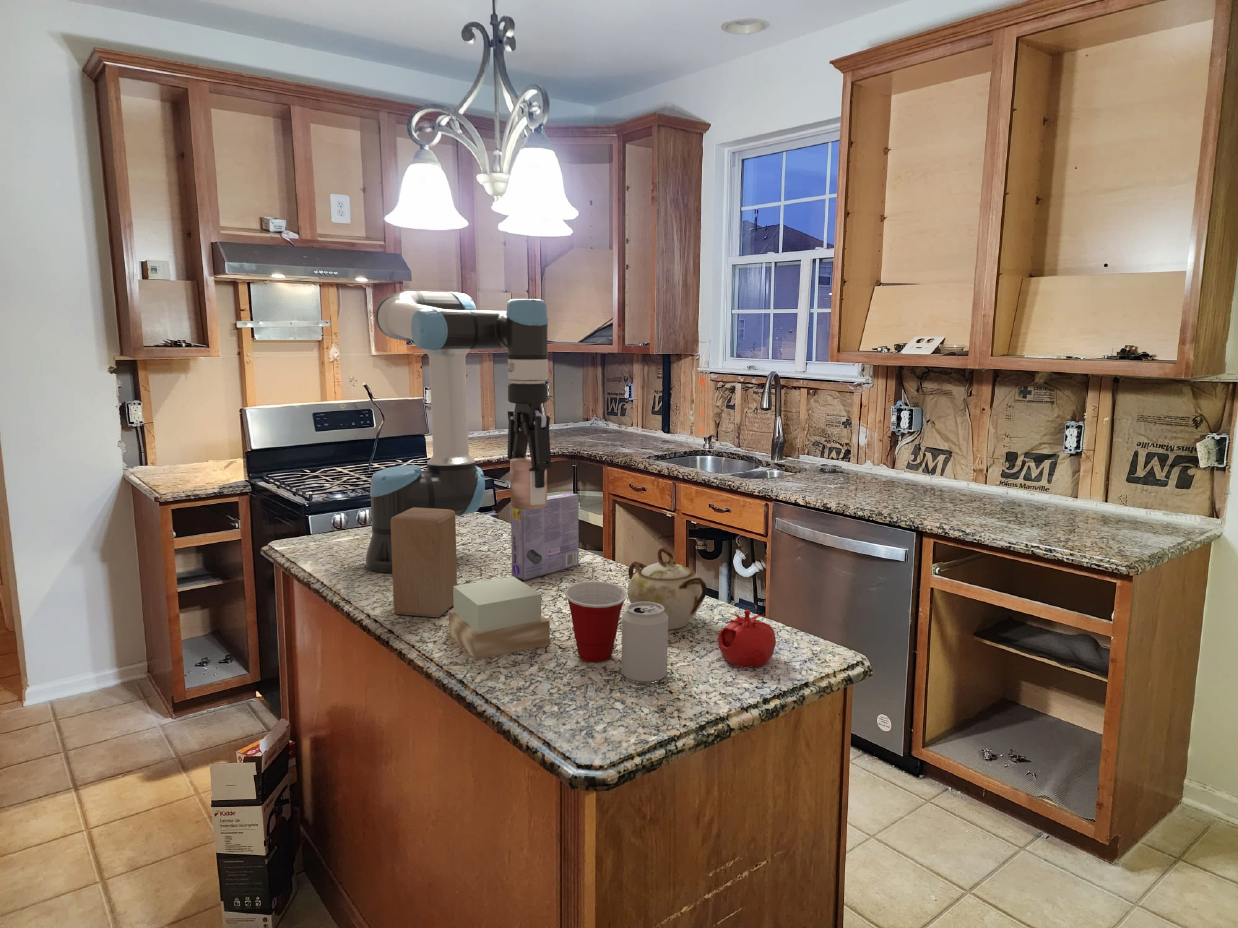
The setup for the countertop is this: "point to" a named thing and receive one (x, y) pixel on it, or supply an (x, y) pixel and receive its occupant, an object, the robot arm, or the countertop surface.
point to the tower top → (496, 604)
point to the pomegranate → (747, 641)
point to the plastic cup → (595, 617)
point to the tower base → (499, 637)
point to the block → (423, 561)
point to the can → (644, 642)
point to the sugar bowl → (667, 588)
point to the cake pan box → (545, 537)
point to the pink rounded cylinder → (523, 484)
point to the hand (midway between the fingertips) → (528, 500)
